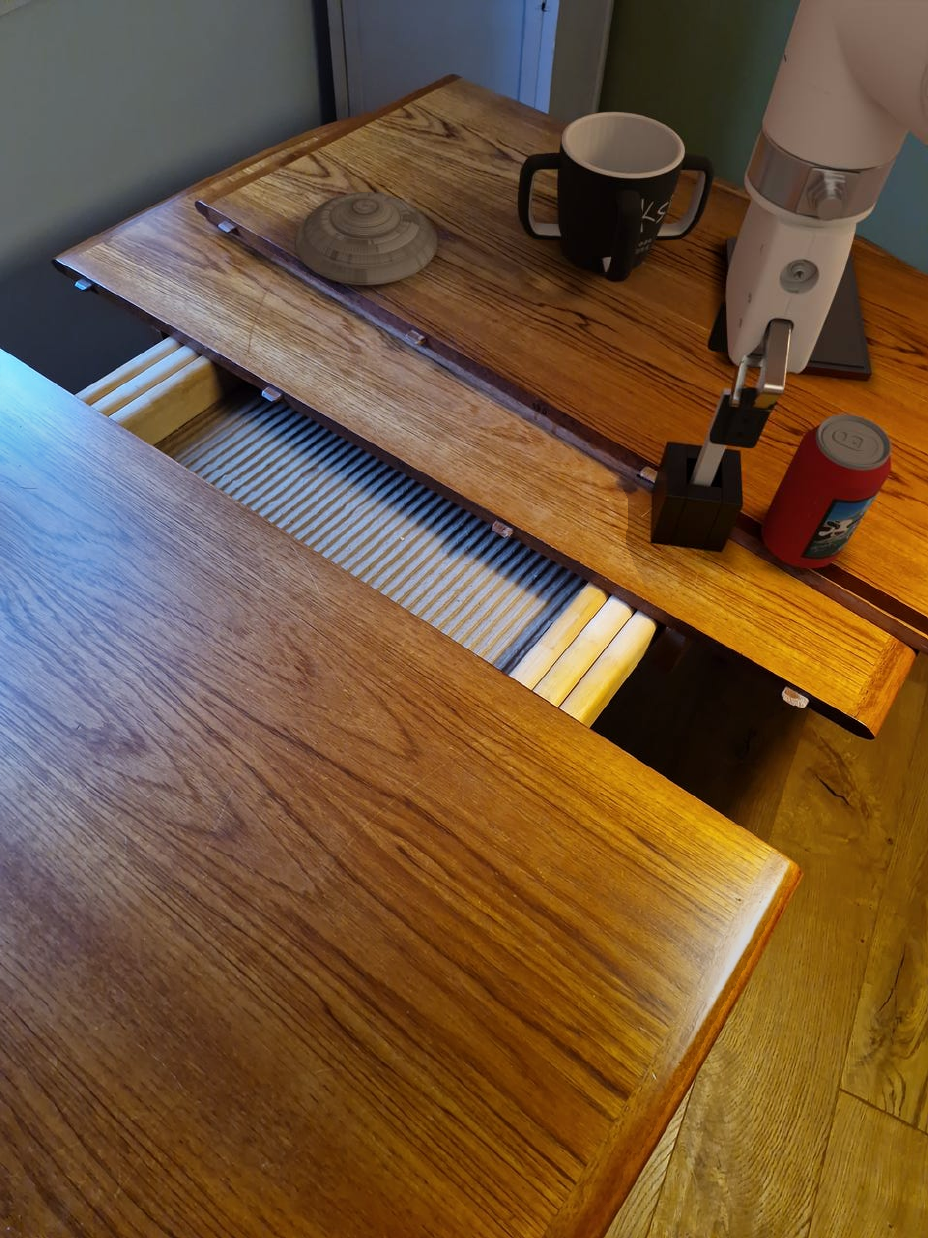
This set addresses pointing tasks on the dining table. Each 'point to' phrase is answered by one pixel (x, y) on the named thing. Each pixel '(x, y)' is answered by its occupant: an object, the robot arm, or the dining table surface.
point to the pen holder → (695, 500)
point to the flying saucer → (366, 239)
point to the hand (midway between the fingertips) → (729, 394)
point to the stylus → (709, 454)
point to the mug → (614, 191)
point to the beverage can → (827, 490)
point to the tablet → (833, 331)
